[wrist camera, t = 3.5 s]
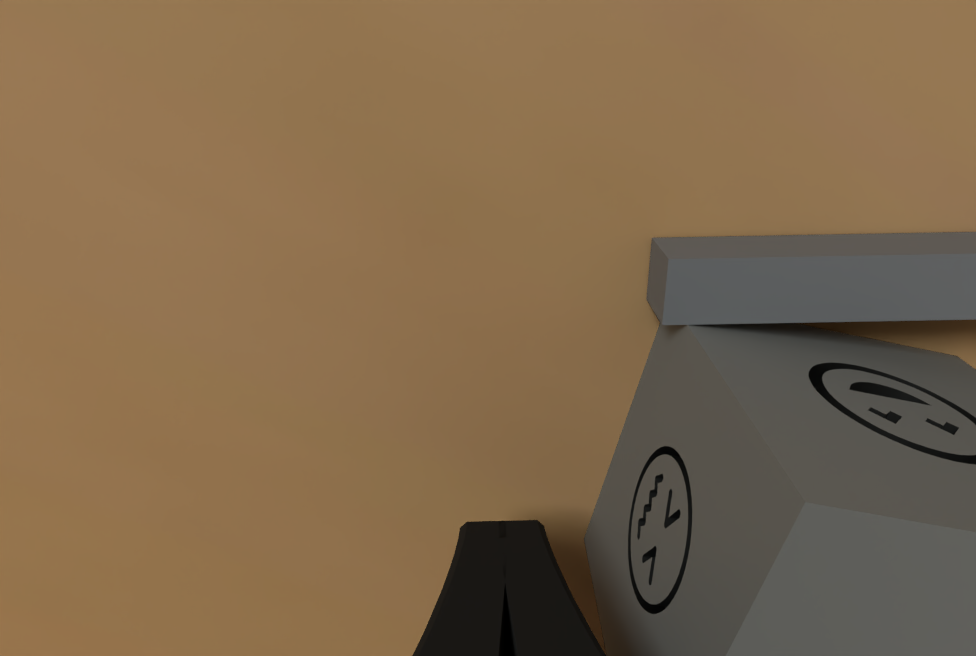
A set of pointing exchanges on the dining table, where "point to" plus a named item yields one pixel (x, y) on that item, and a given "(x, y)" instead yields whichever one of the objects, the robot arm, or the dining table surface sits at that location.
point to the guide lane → (813, 278)
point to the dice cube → (790, 499)
